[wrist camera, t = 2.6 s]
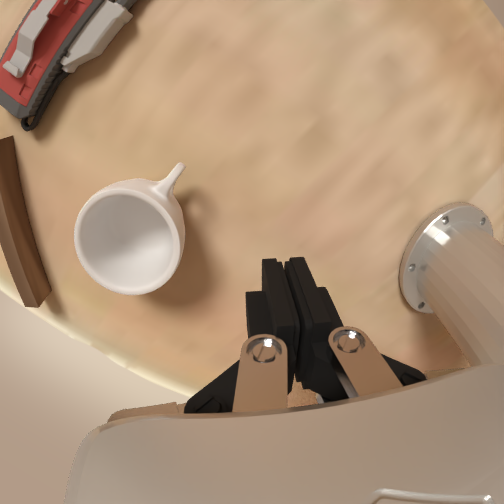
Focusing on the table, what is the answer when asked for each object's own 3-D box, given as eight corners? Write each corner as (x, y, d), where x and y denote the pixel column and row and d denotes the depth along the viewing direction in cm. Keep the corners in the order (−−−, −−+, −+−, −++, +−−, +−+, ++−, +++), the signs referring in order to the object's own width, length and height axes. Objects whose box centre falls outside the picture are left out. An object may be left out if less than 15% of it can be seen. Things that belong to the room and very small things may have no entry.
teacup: (158, 274, 26) (143, 313, 21) (87, 224, 23) (58, 254, 18) (230, 186, 22) (228, 211, 18) (149, 125, 20) (124, 133, 15)
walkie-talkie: (53, 142, 20) (206, -51, 13) (23, 152, 16) (201, -77, 9) (-2, 98, 17) (131, -81, 10) (-33, 103, 13) (116, -103, 6)
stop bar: (12, 135, 18) (-9, 142, 16) (51, 290, 26) (38, 307, 23) (-1, 140, 18) (-22, 147, 16) (38, 289, 26) (25, 306, 23)
